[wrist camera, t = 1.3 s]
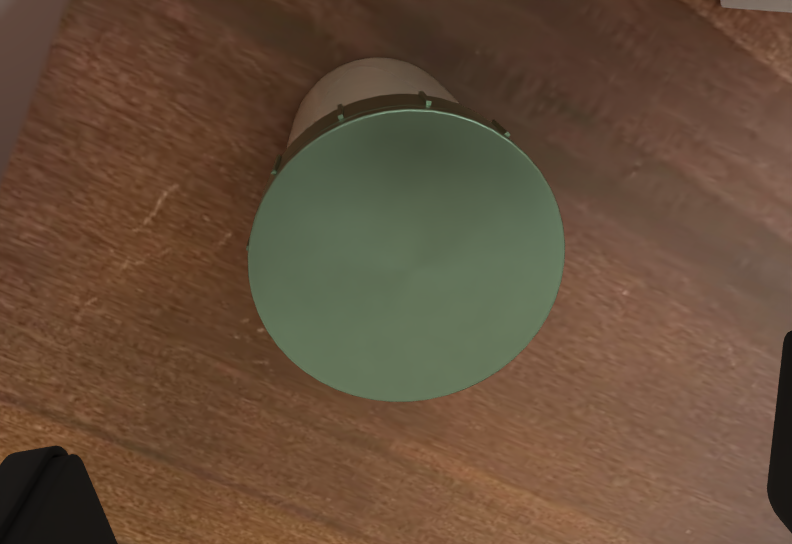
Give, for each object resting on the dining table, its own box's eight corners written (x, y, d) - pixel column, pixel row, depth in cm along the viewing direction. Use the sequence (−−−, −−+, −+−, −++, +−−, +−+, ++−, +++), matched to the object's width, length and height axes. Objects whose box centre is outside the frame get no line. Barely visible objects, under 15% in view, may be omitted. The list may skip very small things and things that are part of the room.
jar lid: (312, 44, 14) (309, 54, 12) (590, 156, 15) (622, 178, 14) (221, 315, 16) (208, 355, 15) (470, 389, 18) (484, 433, 16)
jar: (324, 28, 22) (317, 66, 13) (492, 97, 24) (600, 178, 14) (267, 197, 25) (224, 338, 15) (424, 251, 26) (476, 411, 16)
